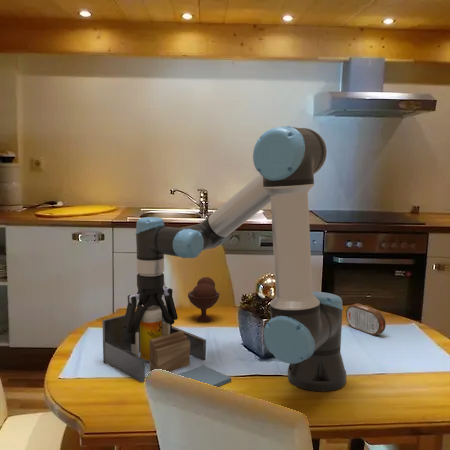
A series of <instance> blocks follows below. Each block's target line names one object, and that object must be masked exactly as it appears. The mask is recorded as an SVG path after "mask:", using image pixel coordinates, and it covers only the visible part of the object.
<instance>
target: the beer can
mask: <svg viewBox="0 0 450 450" xmlns="http://www.w3.org/2000/svg"><path fill="white" fill-rule="evenodd" d="M161 336H162V311H161V309H160V307H159V306H154V305H153V306H151V307H148V309H147V310H146V311H145V313H144V315H143V317H142V320H141V322H140V352H139V357H141V358H143V359H145V362H146V363H150V340H151V339H155V338H158V337H161Z"/></svg>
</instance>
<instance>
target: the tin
mask: <svg viewBox="0 0 450 450" xmlns="http://www.w3.org/2000/svg"><path fill="white" fill-rule="evenodd" d="M345 311H346V312H345V315H346V321H347V324H348V325H349V326H350V327H351V328H352V329H355V330H357V331H359V332H363V333H364V334H365V333H366V334H367V335H371V336H377V335H381V334H382V333H384V332H385V329H386V327H387V325H386V323H387V322H386V319H385V317H384V315H383V313H382V312H381V311H379V310H378V309H376V308H373V307H369V306H367V305H363V304H361V303H353V304H351V305H349V306H348V307H347V308H346V310H345Z"/></svg>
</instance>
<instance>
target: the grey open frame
mask: <svg viewBox="0 0 450 450" xmlns="http://www.w3.org/2000/svg"><path fill="white" fill-rule="evenodd" d="M164 305H165V307H166V309H167V306H166V304H164ZM167 311H168V310H167ZM124 319H125V314H122V315H118V316H114V317H110V318H104V319H102V355H103V360H102V361H103V363H106V364H108V365H109V366H111V367H113V368H115V369H116V370H117V371H120V372H122V373H124V374H125V375H128V376H129V377H130V378H132V379H135V380H136V381H138V382H139V383H144V382H145V381H144V379H146V378H145V377H146V374H145V372H146V369H145V368H146V365H145V359H143V358H141V357H140V355H139V356H137V355H135V354H133V353H131V344H130V343H129V333H128V332H126V331H123V330H122V327H123V323H124ZM162 322H166V321H165V320H164V318H163V317H162ZM179 331H184V332H185V335H186V336H187V340H189V341H190V357H191V356H192V357H194V358H195V359H198V360H200V361H203V362H204V361H207V339H205V338H204V337H201V336H199V335H196V334H192V333H191V332H187V331H185V330H183V329H180V328H178V327H175V326H173V325H172V333H175V332H179ZM136 332H138V333H139V353H140V324H139V327H138V329H137V331H136ZM172 333H171V334H172Z"/></svg>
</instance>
